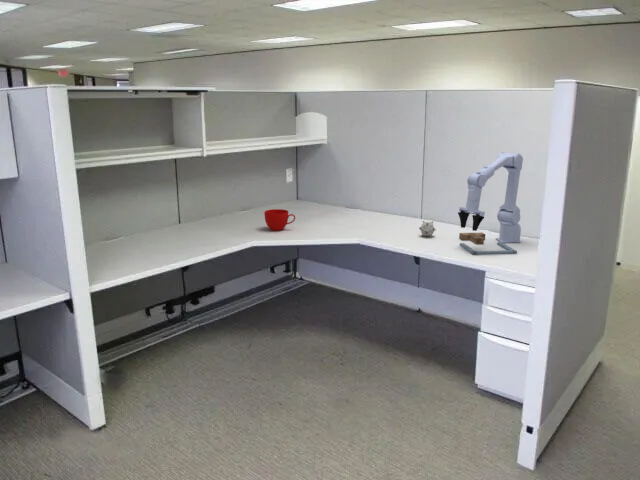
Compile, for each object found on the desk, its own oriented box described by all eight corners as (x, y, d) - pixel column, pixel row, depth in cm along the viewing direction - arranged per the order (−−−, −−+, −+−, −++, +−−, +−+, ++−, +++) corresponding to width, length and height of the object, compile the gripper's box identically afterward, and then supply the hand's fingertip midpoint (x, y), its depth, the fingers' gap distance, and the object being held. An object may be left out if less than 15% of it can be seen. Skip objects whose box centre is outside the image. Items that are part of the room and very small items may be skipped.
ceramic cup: (292, 233, 288) (292, 214, 285) (261, 231, 291) (261, 213, 288) (298, 227, 300) (298, 210, 297) (268, 226, 303) (268, 208, 301)
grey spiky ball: (429, 242, 283) (440, 227, 283) (428, 240, 275) (440, 224, 274) (415, 233, 286) (426, 217, 285) (413, 230, 277) (425, 214, 277)
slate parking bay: (501, 244, 266) (501, 241, 266) (516, 253, 249) (517, 251, 249) (459, 245, 264) (459, 243, 263) (472, 255, 247) (472, 252, 247)
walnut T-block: (481, 238, 278) (482, 232, 277) (491, 244, 266) (491, 238, 266) (459, 238, 277) (459, 233, 276) (467, 244, 265) (468, 238, 264)
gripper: (456, 197, 255) (451, 225, 257) (478, 201, 242) (473, 231, 244) (467, 198, 258) (462, 226, 260) (489, 202, 246) (484, 232, 248)
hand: (468, 229), depth 253 cm, fingers open, 7 cm apart
